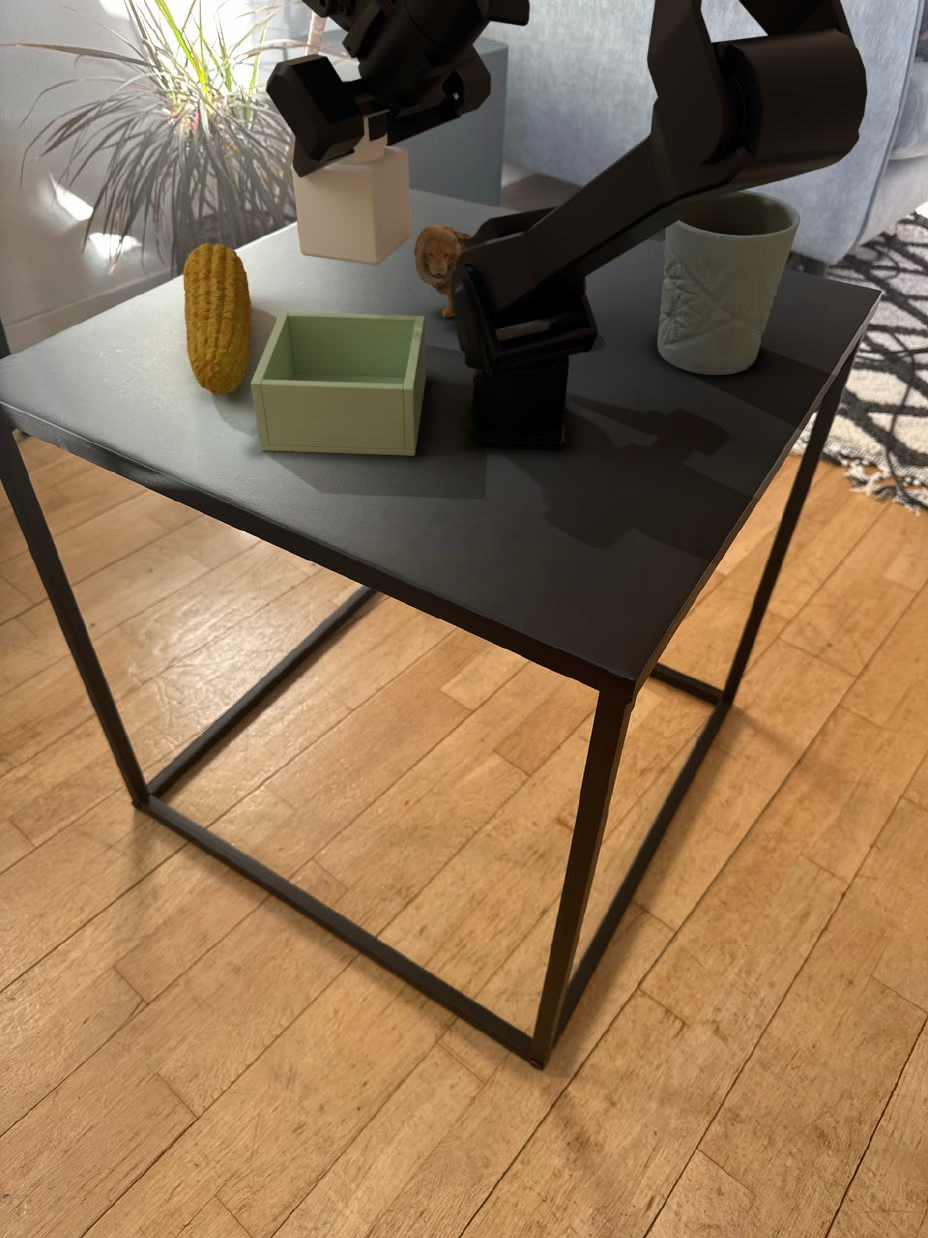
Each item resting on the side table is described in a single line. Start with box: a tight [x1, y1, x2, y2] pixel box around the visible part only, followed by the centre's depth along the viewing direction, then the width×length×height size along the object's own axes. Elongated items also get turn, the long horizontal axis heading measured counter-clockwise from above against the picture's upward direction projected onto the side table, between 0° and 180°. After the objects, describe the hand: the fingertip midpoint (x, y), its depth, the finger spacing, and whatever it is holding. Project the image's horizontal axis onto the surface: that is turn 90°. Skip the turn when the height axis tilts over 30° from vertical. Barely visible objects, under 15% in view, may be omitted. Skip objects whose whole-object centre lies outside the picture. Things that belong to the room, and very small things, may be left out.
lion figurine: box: [413, 224, 471, 319], centre depth 83 cm, size 15×5×9 cm, turn 116°
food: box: [182, 242, 253, 396], centre depth 79 cm, size 21×6×6 cm, turn 13°
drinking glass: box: [657, 189, 801, 376], centre depth 78 cm, size 10×10×12 cm
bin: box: [250, 310, 427, 457], centre depth 72 cm, size 11×11×6 cm
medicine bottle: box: [290, 80, 412, 266], centre depth 75 cm, size 7×7×12 cm
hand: (336, 158), depth 75 cm, fingers closed on medicine bottle, 8 cm apart
